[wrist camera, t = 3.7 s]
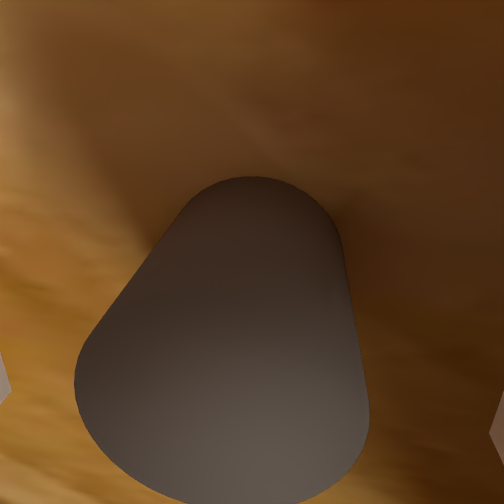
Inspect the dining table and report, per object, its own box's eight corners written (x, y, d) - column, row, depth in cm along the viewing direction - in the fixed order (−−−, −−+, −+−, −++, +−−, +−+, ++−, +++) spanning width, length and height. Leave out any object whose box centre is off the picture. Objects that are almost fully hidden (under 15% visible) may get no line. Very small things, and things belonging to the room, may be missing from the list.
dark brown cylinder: (172, 325, 19) (93, 493, 12) (164, 170, 16) (51, 272, 9) (332, 341, 19) (348, 527, 12) (354, 183, 16) (395, 302, 8)
